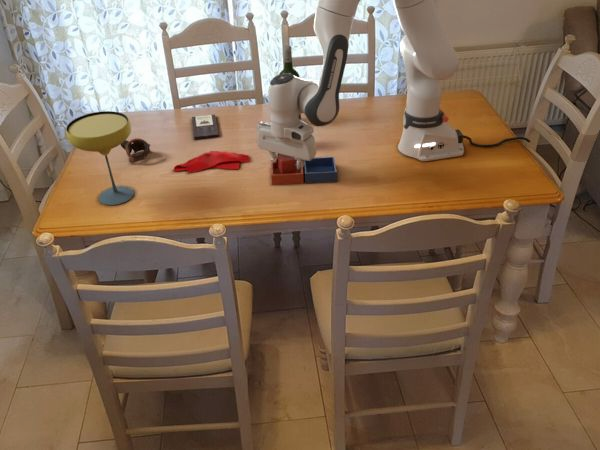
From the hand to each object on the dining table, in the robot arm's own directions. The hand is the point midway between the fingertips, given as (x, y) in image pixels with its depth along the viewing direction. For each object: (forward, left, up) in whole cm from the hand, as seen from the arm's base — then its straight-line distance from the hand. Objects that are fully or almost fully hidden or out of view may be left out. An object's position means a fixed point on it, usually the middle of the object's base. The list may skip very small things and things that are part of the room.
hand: (286, 165), depth 182 cm
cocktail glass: (+55, +7, -4) cm, 55 cm away
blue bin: (-11, 0, -4) cm, 11 cm away
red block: (0, 0, -2) cm, 2 cm away
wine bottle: (-2, -39, -4) cm, 39 cm away
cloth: (+26, -12, -4) cm, 28 cm away
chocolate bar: (+31, -39, -4) cm, 50 cm away
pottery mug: (+52, -18, -4) cm, 56 cm away
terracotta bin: (0, 0, -4) cm, 4 cm away
